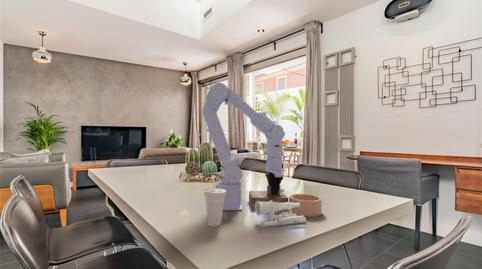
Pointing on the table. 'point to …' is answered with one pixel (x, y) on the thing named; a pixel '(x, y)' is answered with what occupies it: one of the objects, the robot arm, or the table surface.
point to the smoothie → (214, 204)
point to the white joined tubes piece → (274, 207)
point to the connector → (270, 191)
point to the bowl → (306, 205)
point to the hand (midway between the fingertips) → (273, 193)
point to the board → (265, 197)
